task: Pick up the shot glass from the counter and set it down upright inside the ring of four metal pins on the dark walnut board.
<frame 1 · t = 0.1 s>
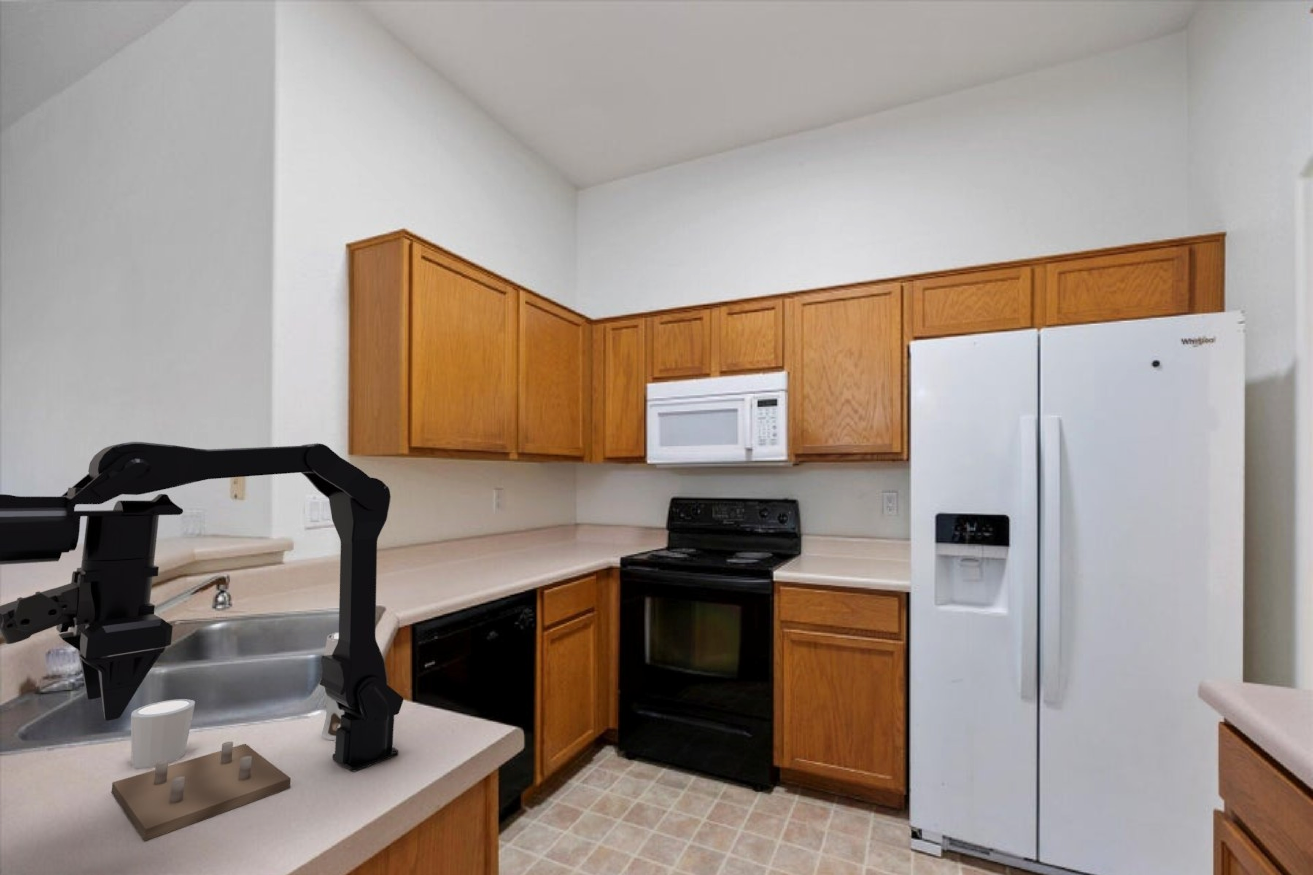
hand: (102, 708, 59), 15 cm above the counter, tool pointing down, fingers open, 9 cm apart
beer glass: (343, 733, 88), on the counter
pin board: (201, 790, 71), on the counter
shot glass: (158, 760, 79), on the counter
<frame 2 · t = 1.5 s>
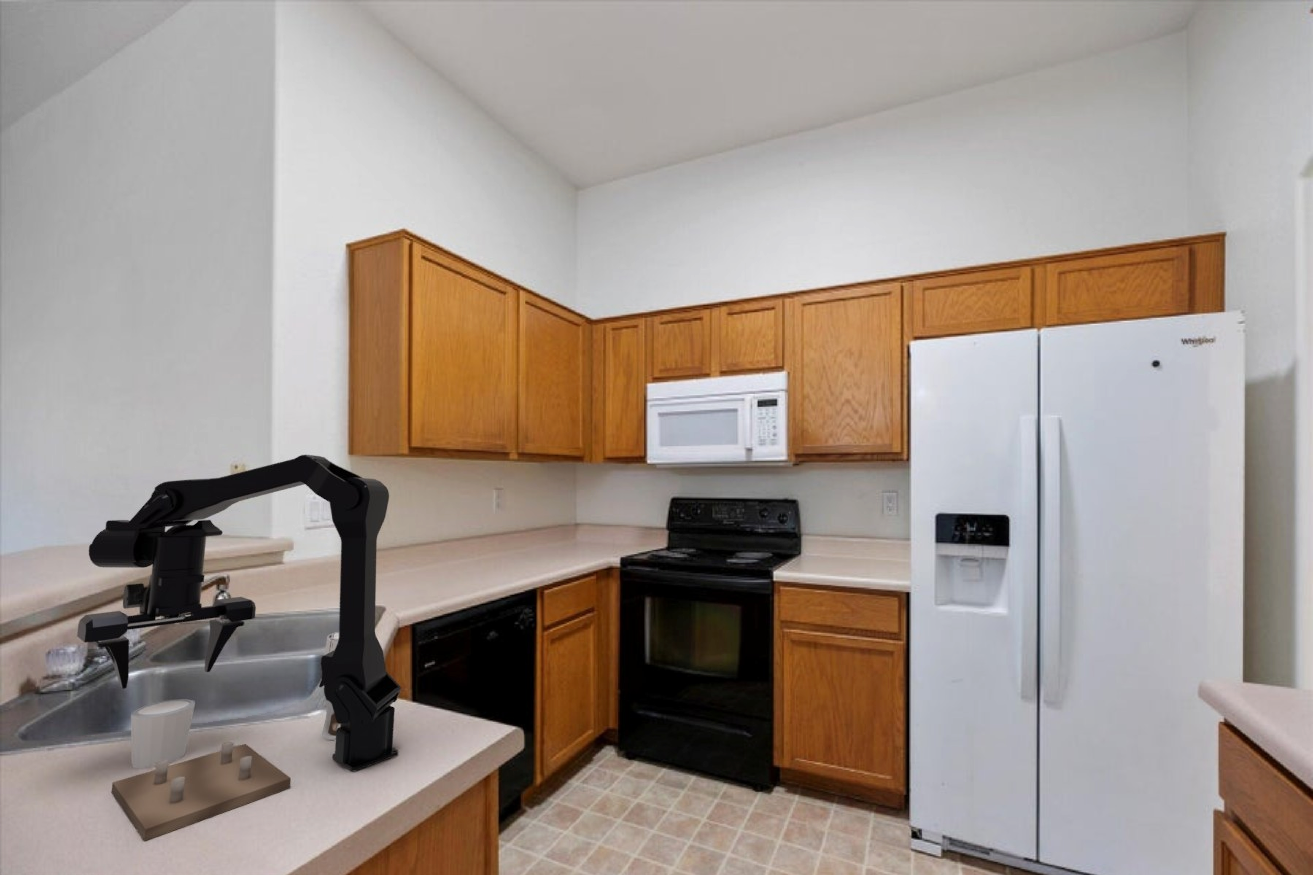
hand: (167, 679, 80), 11 cm above the counter, tool pointing down, fingers open, 9 cm apart
nothing on the counter moved.
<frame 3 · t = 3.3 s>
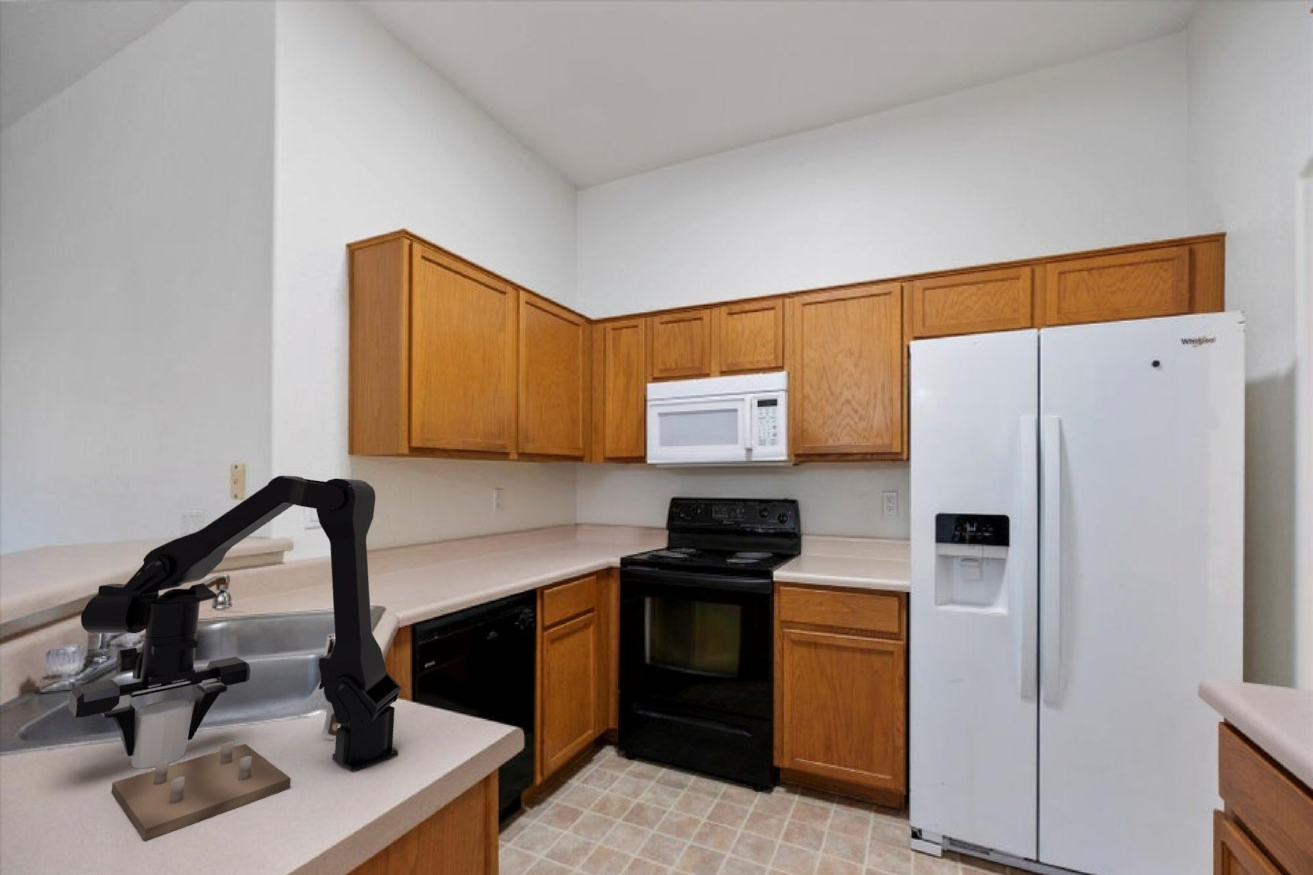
hand: (160, 747, 79), 2 cm above the counter, tool pointing down, fingers closed on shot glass, 6 cm apart
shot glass: (158, 759, 79), on the counter, touching gripper
everything else where it was.
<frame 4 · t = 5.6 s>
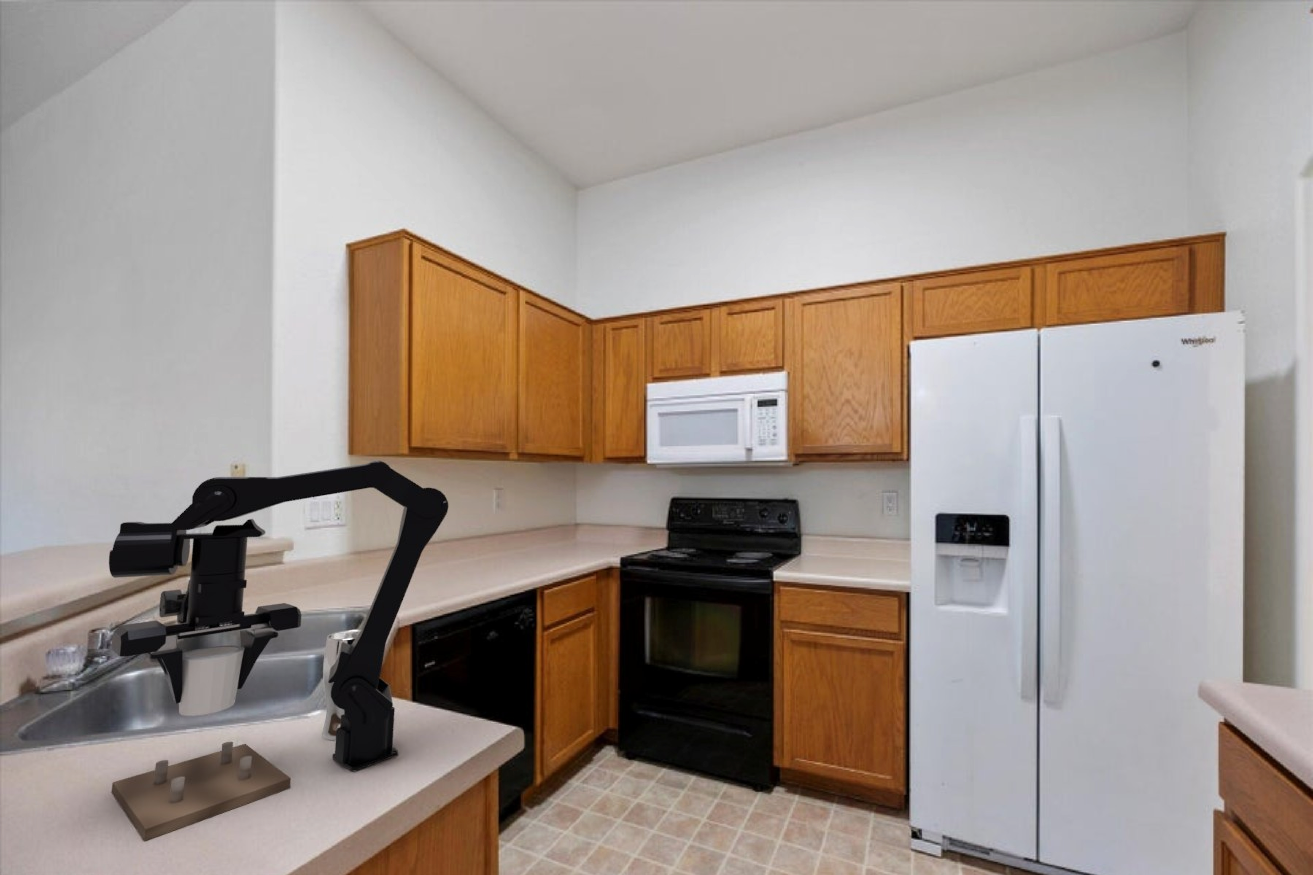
hand: (208, 695, 72), 11 cm above the counter, tool pointing down, fingers closed on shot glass, 6 cm apart
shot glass: (207, 708, 72), point 10 cm above the counter, touching gripper
everything else where it was.
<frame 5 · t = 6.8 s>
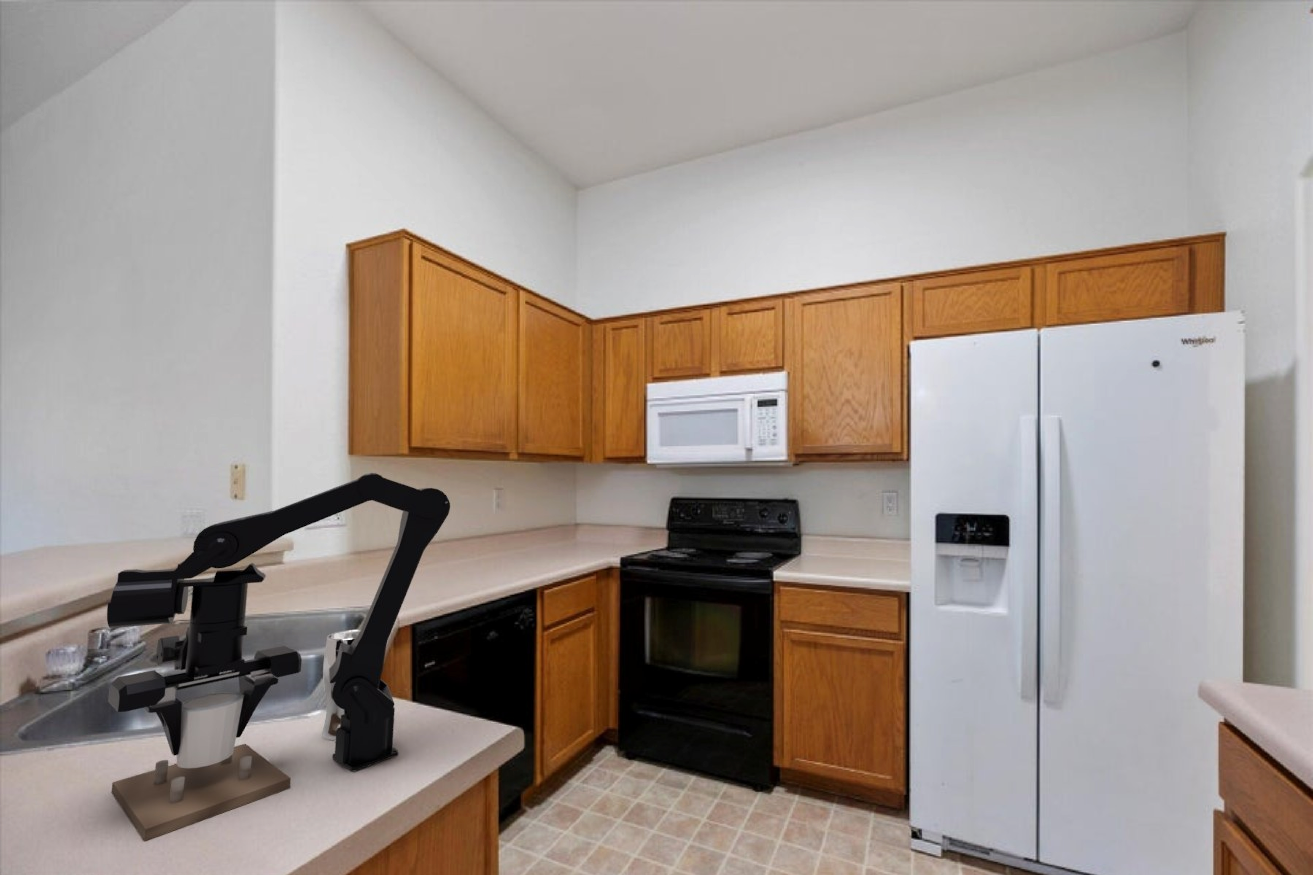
hand: (207, 745, 71), 5 cm above the counter, tool pointing down, fingers closed on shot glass, 6 cm apart
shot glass: (205, 759, 71), point 4 cm above the counter, touching gripper
everything else where it was.
when the fingers open (4 cm above the counter, at t = 7.9 s): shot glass drops 1 cm, resting on pin board.
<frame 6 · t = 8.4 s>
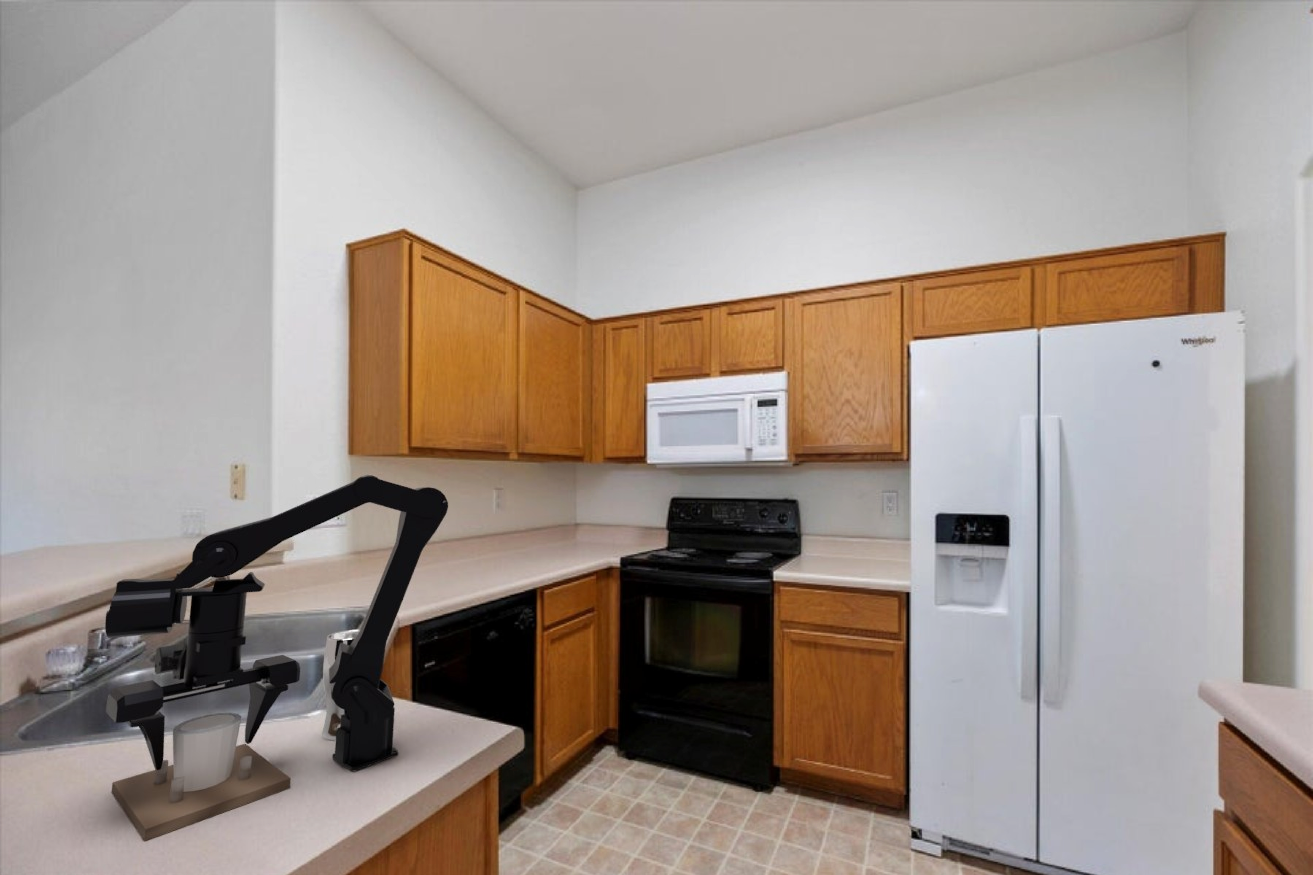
hand: (205, 755, 71), 4 cm above the counter, tool pointing down, fingers open, 9 cm apart
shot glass: (203, 781, 71), point 1 cm above the counter, touching pin board
everything else where it was.
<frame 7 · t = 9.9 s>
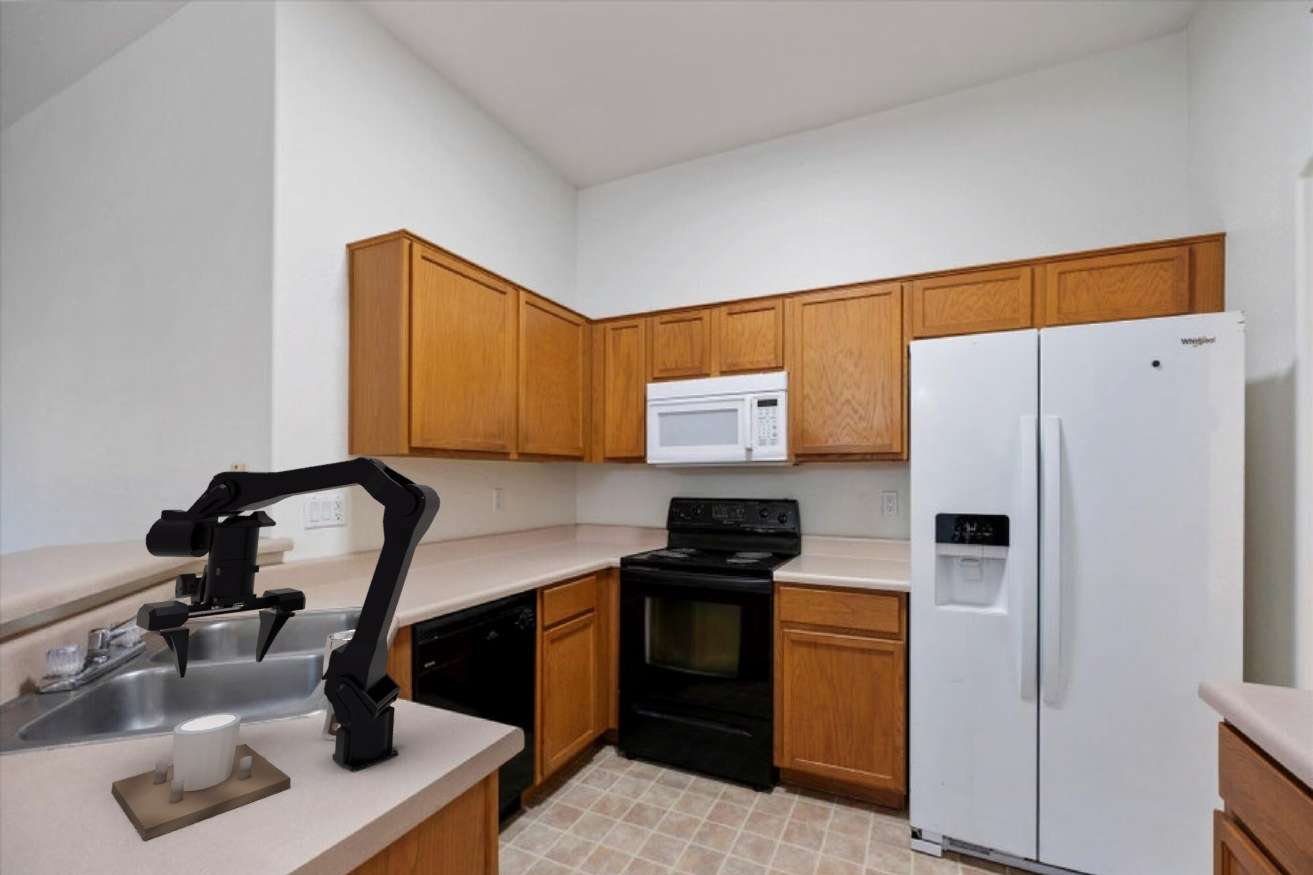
hand: (221, 668, 80), 12 cm above the counter, tool pointing down, fingers open, 9 cm apart
nothing on the counter moved.
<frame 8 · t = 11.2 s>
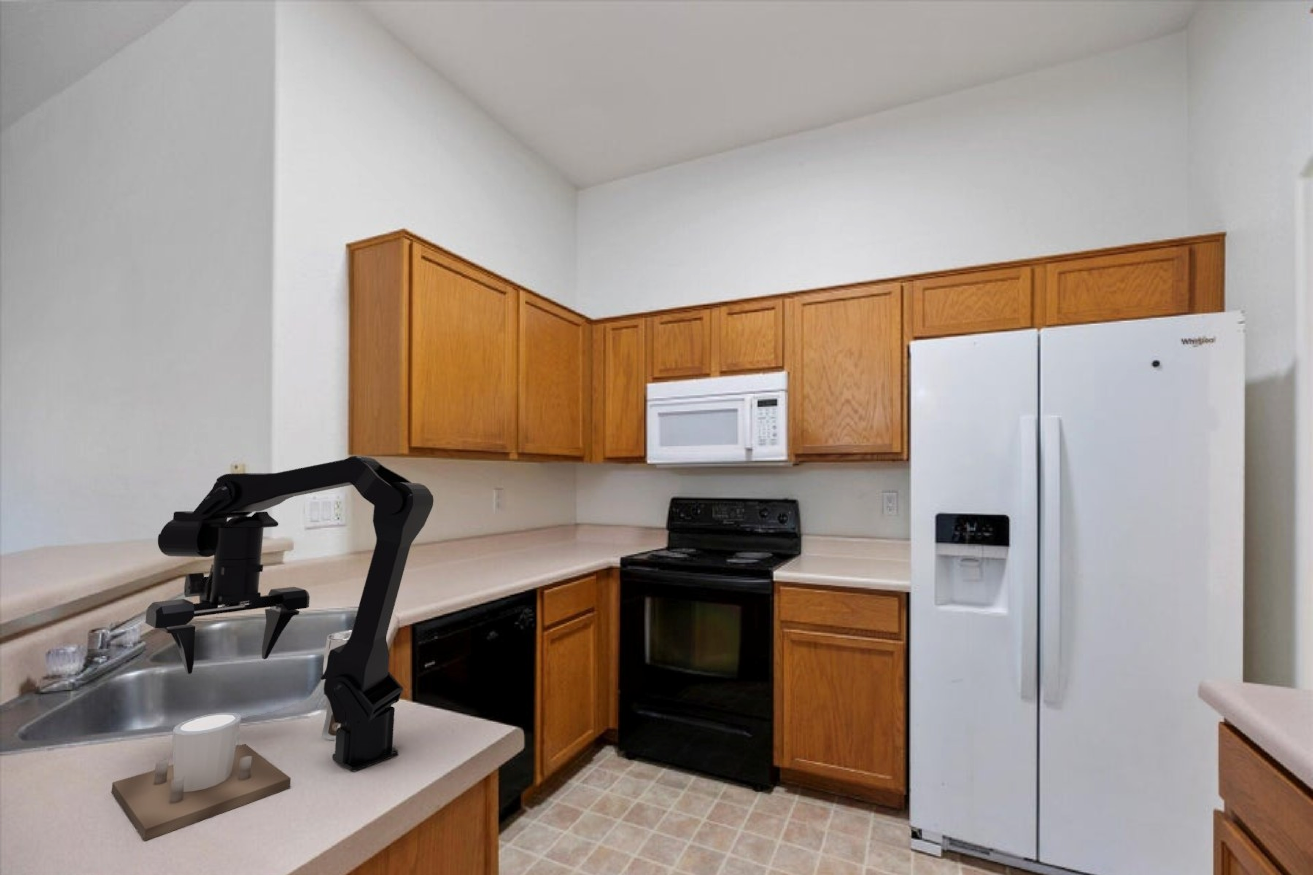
hand: (228, 665, 82), 12 cm above the counter, tool pointing down, fingers open, 9 cm apart
nothing on the counter moved.
at the end: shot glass 0.1 cm off-centre on the pin board, point 1.0 cm above the pin board's base; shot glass tilted 0°; the gripper is holding nothing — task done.
